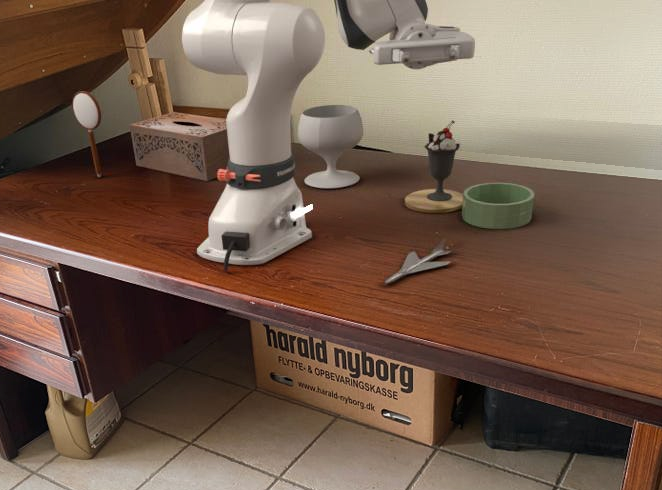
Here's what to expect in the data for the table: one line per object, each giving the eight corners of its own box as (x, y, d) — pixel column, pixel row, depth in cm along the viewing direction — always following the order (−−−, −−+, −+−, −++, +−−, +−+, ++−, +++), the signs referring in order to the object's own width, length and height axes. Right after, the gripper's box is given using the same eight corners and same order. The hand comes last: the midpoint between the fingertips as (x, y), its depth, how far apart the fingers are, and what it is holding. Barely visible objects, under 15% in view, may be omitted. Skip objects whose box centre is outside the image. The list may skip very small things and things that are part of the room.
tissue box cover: (136, 165, 181) (129, 124, 176) (179, 151, 190) (173, 111, 185) (207, 181, 166) (201, 137, 161) (250, 164, 175) (246, 122, 170)
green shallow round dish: (523, 232, 127) (526, 208, 125) (453, 224, 133) (454, 200, 130) (538, 209, 136) (541, 186, 134) (472, 202, 142) (474, 180, 139)
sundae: (459, 201, 140) (465, 122, 133) (425, 203, 141) (428, 125, 133) (453, 190, 146) (458, 114, 138) (420, 192, 146) (422, 116, 139)
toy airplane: (364, 280, 115) (364, 267, 114) (439, 239, 127) (440, 226, 126) (404, 293, 110) (404, 279, 109) (477, 249, 122) (479, 236, 121)
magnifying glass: (84, 176, 176) (66, 90, 166) (89, 174, 178) (72, 89, 167) (109, 180, 172) (93, 92, 162) (115, 178, 173) (98, 91, 163)
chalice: (350, 193, 151) (348, 120, 144) (289, 188, 157) (285, 118, 149) (372, 173, 162) (372, 104, 154) (315, 169, 168) (312, 102, 160)
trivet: (456, 216, 136) (456, 212, 136) (396, 209, 142) (396, 205, 141) (474, 195, 145) (474, 192, 144) (416, 190, 150) (417, 186, 150)
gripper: (368, 33, 151) (376, 42, 139) (466, 26, 150) (482, 34, 138) (367, 65, 154) (375, 77, 142) (464, 58, 153) (480, 69, 142)
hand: (429, 56), depth 140 cm, fingers open, 8 cm apart
